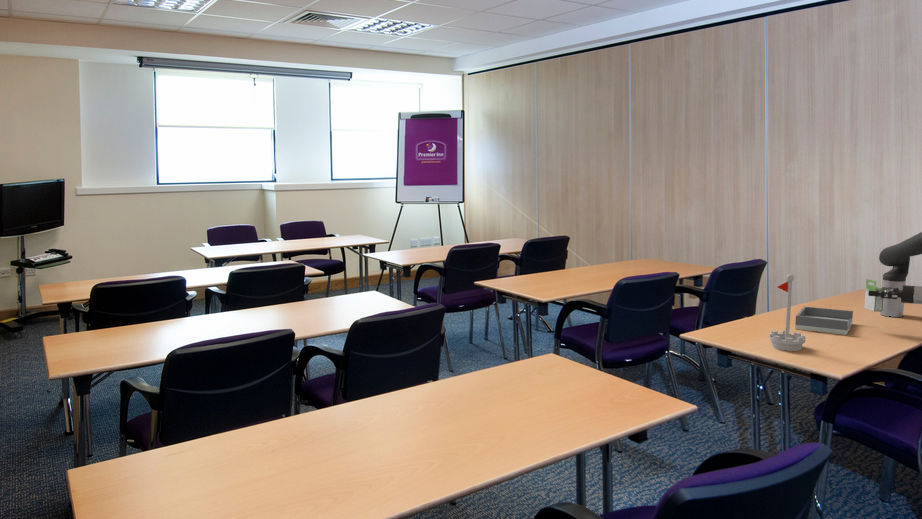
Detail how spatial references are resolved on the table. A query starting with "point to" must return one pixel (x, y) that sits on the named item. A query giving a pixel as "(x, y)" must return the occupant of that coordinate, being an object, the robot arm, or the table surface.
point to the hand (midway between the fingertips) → (869, 291)
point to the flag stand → (787, 325)
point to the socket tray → (824, 320)
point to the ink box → (873, 298)
